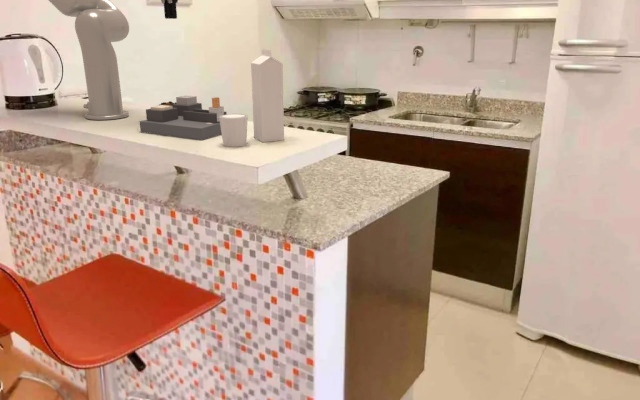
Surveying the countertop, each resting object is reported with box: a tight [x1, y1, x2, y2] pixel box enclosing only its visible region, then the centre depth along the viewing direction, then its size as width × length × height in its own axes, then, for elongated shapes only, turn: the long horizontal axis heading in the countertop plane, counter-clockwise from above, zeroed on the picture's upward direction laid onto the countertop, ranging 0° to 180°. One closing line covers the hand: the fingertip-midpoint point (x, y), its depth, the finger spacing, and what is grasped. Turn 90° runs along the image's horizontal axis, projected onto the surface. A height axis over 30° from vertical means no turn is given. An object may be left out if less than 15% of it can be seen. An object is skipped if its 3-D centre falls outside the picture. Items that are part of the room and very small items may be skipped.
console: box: [139, 102, 228, 141], centre depth 146 cm, size 21×19×6 cm
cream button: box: [150, 104, 173, 111], centre depth 144 cm, size 4×4×4 cm
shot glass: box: [219, 113, 249, 148], centre depth 129 cm, size 7×7×7 cm
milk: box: [250, 48, 285, 143], centre depth 133 cm, size 6×6×22 cm
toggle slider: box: [208, 96, 225, 122], centre depth 141 cm, size 3×3×6 cm
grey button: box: [175, 95, 198, 106], centre depth 152 cm, size 4×4×4 cm
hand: (171, 18), depth 151 cm, fingers closed
